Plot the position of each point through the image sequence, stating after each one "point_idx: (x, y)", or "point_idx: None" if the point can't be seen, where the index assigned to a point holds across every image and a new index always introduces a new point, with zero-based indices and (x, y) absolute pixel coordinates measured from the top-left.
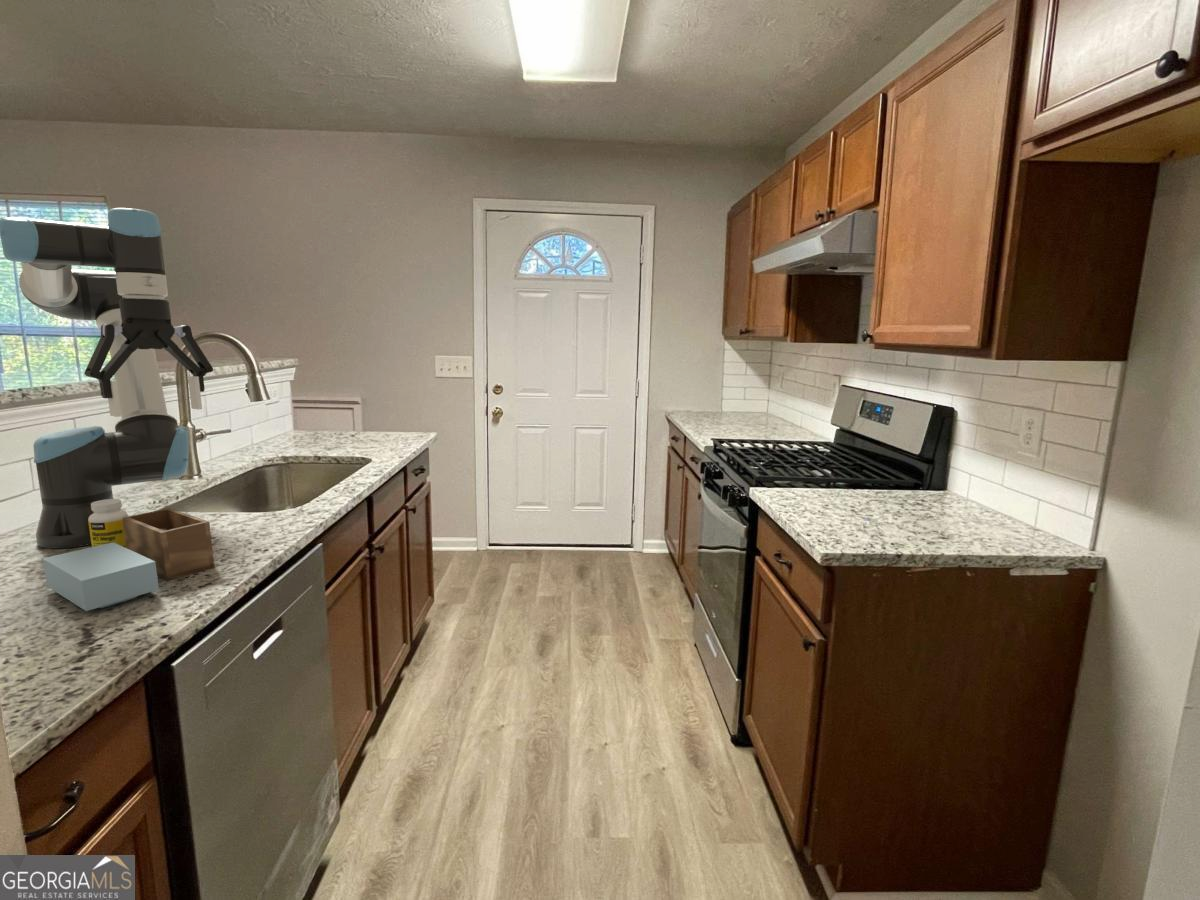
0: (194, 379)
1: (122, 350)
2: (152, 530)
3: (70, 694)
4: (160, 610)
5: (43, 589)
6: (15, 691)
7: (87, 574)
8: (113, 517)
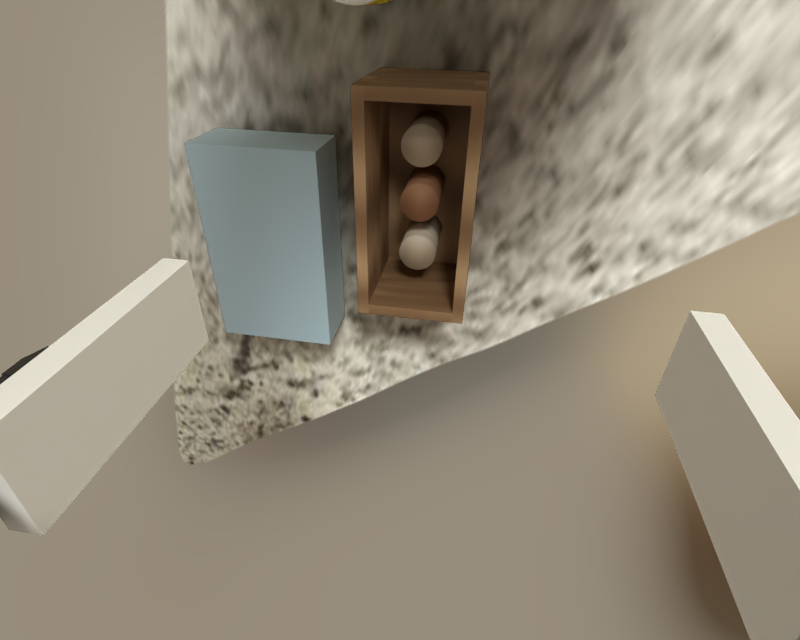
0: (751, 630)
1: None
2: (357, 272)
3: (214, 442)
4: (327, 356)
5: (217, 96)
6: (178, 403)
7: (237, 312)
8: (348, 3)
